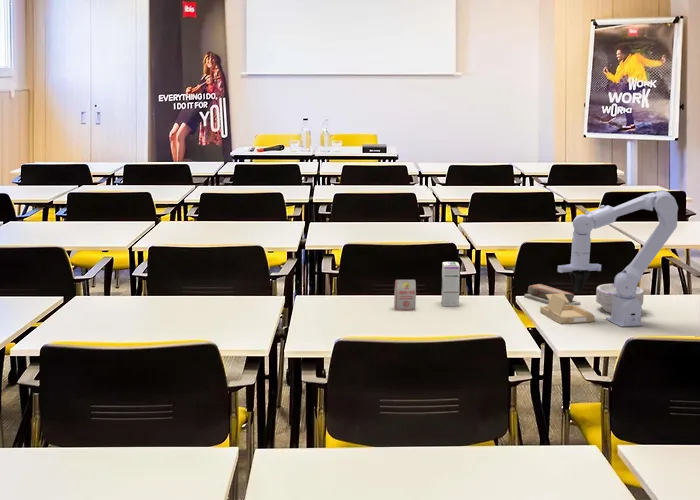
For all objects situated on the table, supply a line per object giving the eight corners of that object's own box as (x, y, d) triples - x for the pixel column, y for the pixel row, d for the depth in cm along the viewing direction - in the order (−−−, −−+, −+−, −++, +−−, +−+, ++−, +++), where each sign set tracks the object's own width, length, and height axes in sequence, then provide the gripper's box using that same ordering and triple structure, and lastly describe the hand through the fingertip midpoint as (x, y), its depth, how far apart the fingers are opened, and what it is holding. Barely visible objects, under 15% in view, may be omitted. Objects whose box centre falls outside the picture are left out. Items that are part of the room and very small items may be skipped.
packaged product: (523, 285, 302) (543, 281, 308) (522, 298, 303) (542, 294, 309) (561, 296, 288) (581, 292, 293) (561, 309, 289) (580, 305, 294)
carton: (596, 322, 272) (597, 316, 272) (561, 324, 269) (561, 318, 269) (573, 310, 286) (574, 304, 286) (540, 312, 283) (540, 306, 283)
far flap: (569, 302, 286) (563, 293, 290) (551, 303, 284) (545, 294, 288) (569, 303, 286) (562, 294, 290) (551, 304, 285) (545, 295, 289)
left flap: (560, 315, 270) (566, 300, 269) (559, 315, 270) (565, 300, 269) (547, 308, 278) (553, 294, 277) (546, 308, 278) (552, 293, 277)
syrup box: (459, 306, 289) (460, 265, 286) (442, 306, 289) (443, 264, 286) (457, 302, 295) (459, 261, 292) (440, 302, 295) (442, 261, 292)
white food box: (394, 307, 288) (394, 278, 286) (413, 307, 288) (414, 278, 286) (395, 310, 284) (396, 281, 282) (415, 310, 284) (416, 281, 282)
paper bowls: (590, 313, 283) (592, 290, 281) (600, 303, 296) (602, 281, 295) (637, 319, 276) (639, 296, 274) (645, 309, 289) (647, 286, 288)
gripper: (566, 255, 267) (563, 297, 269) (607, 253, 270) (604, 294, 273) (555, 250, 273) (552, 291, 276) (595, 249, 277) (592, 289, 280)
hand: (577, 293), depth 275 cm, fingers closed
